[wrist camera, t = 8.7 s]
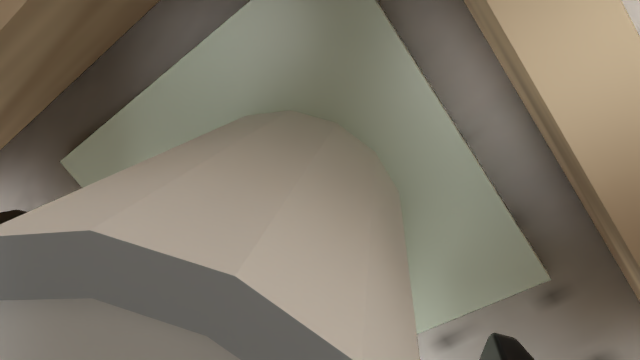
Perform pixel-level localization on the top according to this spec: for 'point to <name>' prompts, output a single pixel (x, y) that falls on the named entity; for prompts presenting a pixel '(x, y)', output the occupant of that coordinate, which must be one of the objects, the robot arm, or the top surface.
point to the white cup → (218, 255)
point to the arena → (500, 32)
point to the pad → (354, 116)
